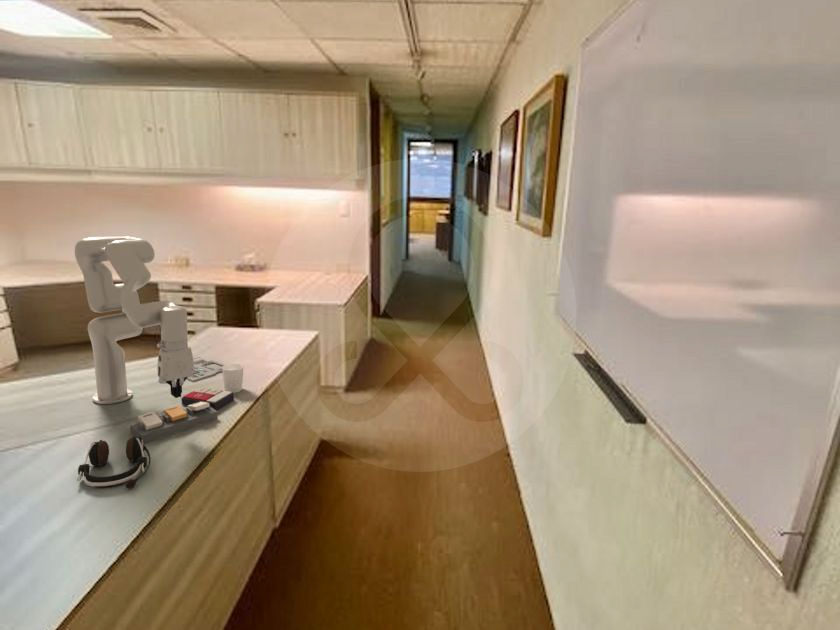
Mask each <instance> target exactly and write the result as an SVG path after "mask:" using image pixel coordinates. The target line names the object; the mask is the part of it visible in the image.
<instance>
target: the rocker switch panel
mask: <svg viewBox="0 0 840 630" xmlns="http://www.w3.org/2000/svg"><path fill="white" fill-rule="evenodd" d="M206 403H207V402H206ZM209 406H210V404H209ZM182 409H183V410H184V411H185V412H186V413H187V417H184V418H181V419H178V420H174V421H172V420H171V419H170V418H169V416H167V415H166V414H164V413H163V414H162V415H157V416H158V417H159V418H160V419H161V420H162V425H161V426H158V427H155V428H152V429H148V430H146V429H145V427H144V425H143V424H142V423H141V422H140V421H138V422H136V423H134V424H130V425H129V428H130V429H129V430H130V435H132V437H133V436H135V437H141V438H142V439H143V443H144V444H146V443H149V442H154V441H155V440H158V439H162V438H165V437H168V436H170V435H173V434H177V433H180V432H182V431H187V430H188V429H191V428H195V427H197V426H200V425H201V426H202V425H204V424H207V423H209V422H212V421H215V420H218V418H219V417H218V413H219V412H218V411H219V410H218V411H216V410H215V409H213V408H211V407H207V408H204V409H201V410H197V411H194V410H192V409H191V408H189V407H187V406H186V408H182Z"/></svg>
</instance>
